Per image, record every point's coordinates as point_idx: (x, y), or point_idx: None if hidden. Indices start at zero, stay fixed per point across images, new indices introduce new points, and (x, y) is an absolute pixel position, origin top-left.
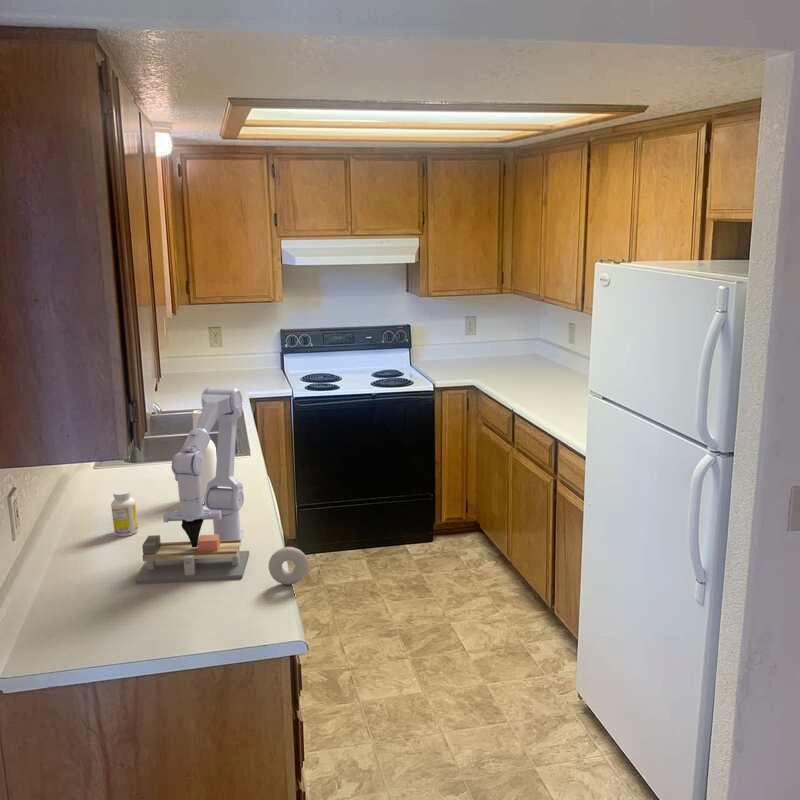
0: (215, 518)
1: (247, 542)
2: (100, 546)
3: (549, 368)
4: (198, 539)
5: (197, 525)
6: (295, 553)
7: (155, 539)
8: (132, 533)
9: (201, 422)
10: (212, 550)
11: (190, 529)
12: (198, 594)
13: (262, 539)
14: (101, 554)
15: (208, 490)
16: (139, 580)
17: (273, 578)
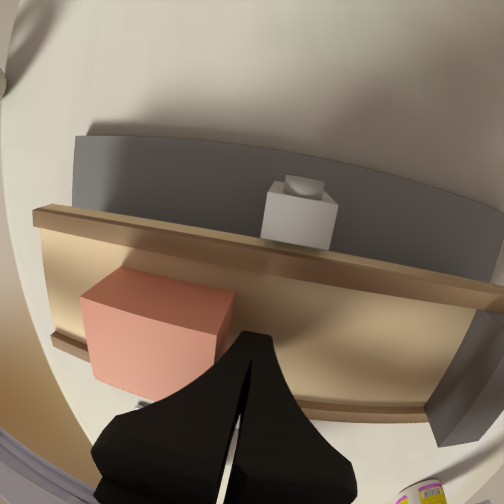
0: (1, 434)
1: (119, 404)
2: (482, 446)
3: None
4: (211, 363)
5: (129, 439)
6: None
7: (476, 407)
8: (413, 487)
9: None
10: (144, 275)
11: (250, 433)
12: (252, 20)
13: (88, 400)
14: (498, 418)
15: None
16: (497, 210)
17: (2, 73)
